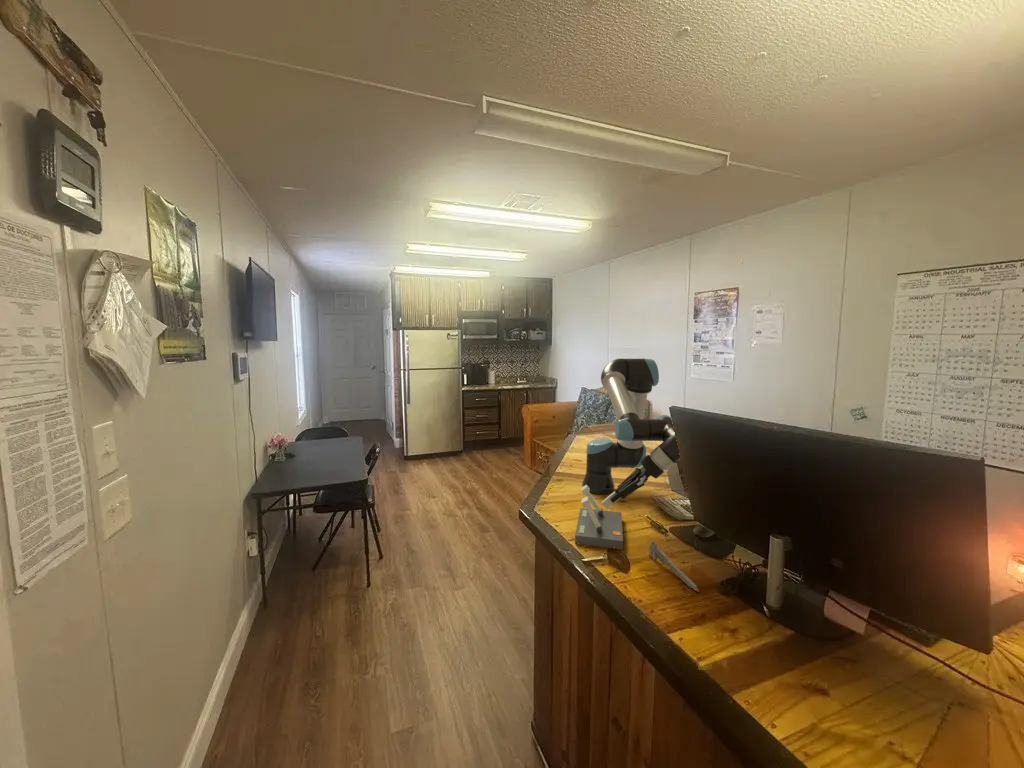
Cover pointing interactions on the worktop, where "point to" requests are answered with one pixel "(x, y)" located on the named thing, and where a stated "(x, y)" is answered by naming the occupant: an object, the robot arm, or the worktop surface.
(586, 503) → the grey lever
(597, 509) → the lever
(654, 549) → the caliper
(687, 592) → the worktop surface
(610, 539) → the panel
